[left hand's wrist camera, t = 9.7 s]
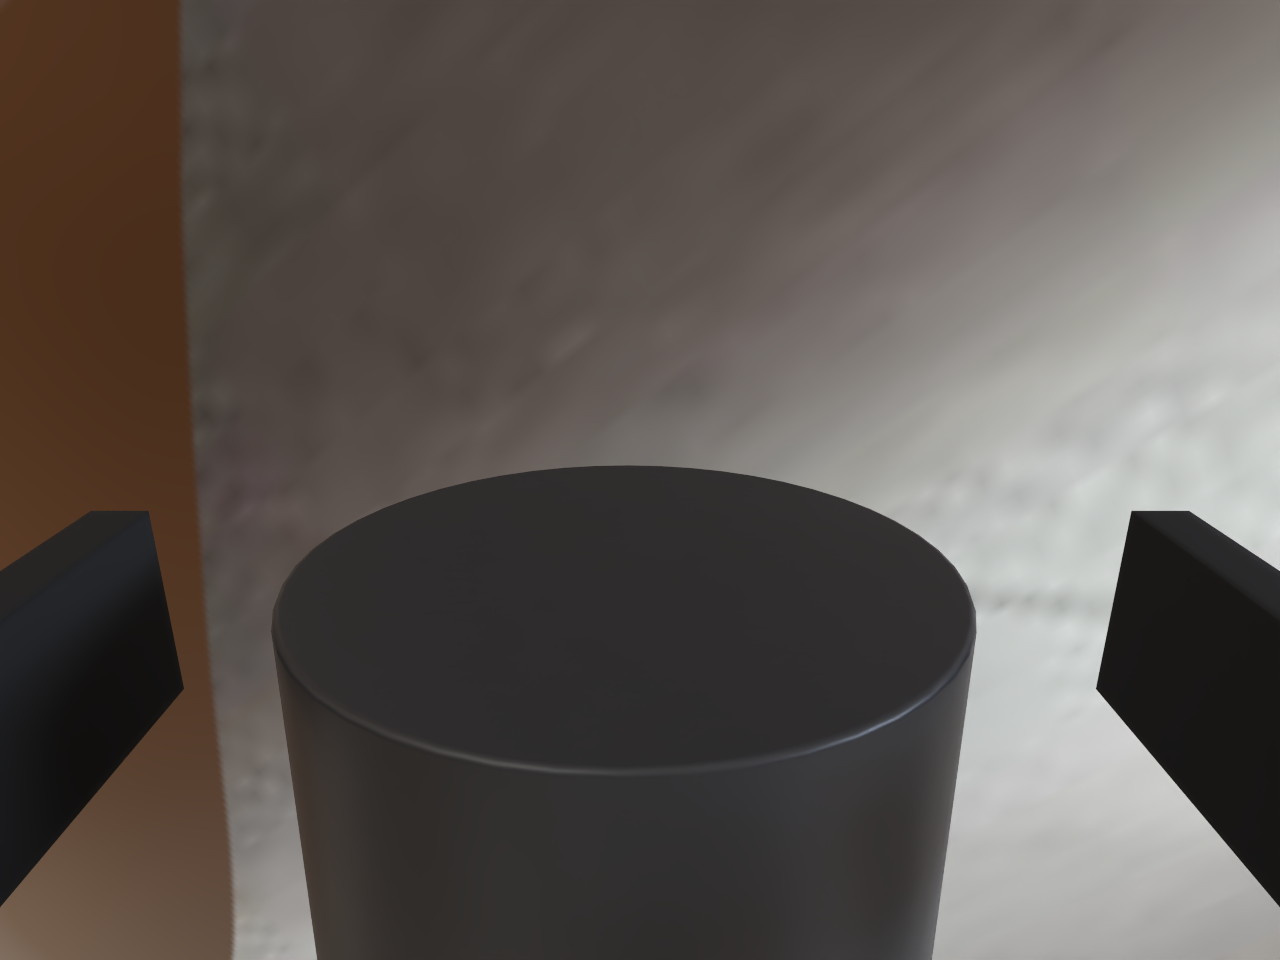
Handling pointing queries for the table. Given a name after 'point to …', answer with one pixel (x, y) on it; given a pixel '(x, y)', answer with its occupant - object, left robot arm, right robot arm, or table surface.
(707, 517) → the rod
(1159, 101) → the table surface
